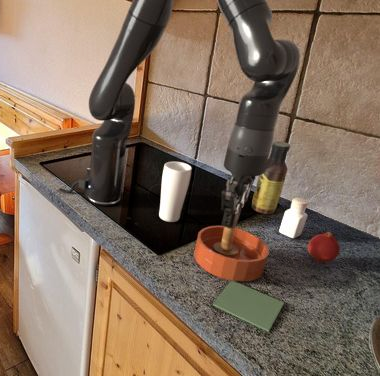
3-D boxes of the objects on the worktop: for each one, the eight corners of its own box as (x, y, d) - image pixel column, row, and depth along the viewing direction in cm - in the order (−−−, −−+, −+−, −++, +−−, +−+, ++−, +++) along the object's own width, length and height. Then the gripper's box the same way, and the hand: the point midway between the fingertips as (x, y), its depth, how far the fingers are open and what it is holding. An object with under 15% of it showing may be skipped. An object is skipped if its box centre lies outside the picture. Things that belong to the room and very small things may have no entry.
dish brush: (207, 260, 90) (217, 203, 84) (216, 250, 93) (226, 195, 88) (231, 269, 87) (243, 210, 81) (239, 259, 90) (251, 202, 84)
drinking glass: (179, 213, 111) (188, 162, 105) (184, 225, 105) (194, 172, 98) (154, 211, 111) (162, 160, 105) (157, 223, 105) (166, 170, 99)
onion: (307, 251, 95) (318, 222, 92) (336, 262, 91) (348, 232, 88) (300, 261, 91) (311, 231, 88) (329, 273, 88) (342, 242, 84)
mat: (212, 305, 77) (212, 303, 77) (231, 281, 84) (231, 279, 84) (268, 332, 71) (269, 330, 71) (283, 304, 78) (284, 302, 78)
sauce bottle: (252, 202, 118) (270, 137, 109) (276, 209, 114) (296, 142, 106) (248, 211, 113) (266, 143, 104) (272, 218, 110) (293, 148, 101)
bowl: (182, 263, 89) (187, 242, 87) (208, 239, 99) (212, 219, 97) (250, 293, 81) (256, 270, 79) (270, 262, 91) (277, 241, 88)
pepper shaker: (286, 228, 105) (296, 195, 101) (301, 235, 102) (313, 201, 98) (277, 232, 103) (287, 199, 99) (293, 239, 100) (304, 205, 96)
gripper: (240, 135, 86) (223, 207, 93) (216, 151, 77) (199, 230, 84) (279, 144, 82) (257, 218, 89) (258, 161, 72) (236, 243, 80)
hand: (229, 223), depth 86 cm, fingers closed on dish brush
